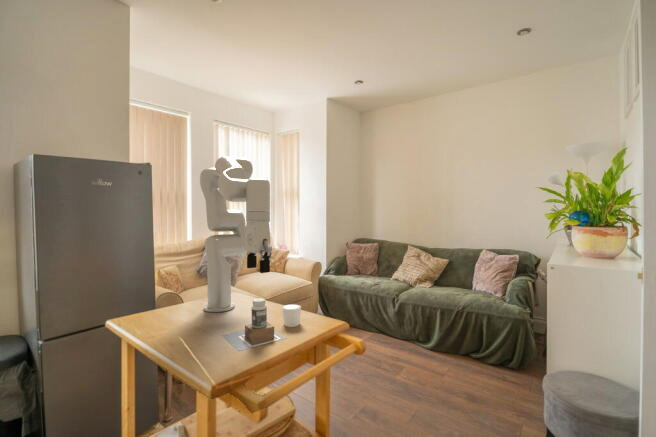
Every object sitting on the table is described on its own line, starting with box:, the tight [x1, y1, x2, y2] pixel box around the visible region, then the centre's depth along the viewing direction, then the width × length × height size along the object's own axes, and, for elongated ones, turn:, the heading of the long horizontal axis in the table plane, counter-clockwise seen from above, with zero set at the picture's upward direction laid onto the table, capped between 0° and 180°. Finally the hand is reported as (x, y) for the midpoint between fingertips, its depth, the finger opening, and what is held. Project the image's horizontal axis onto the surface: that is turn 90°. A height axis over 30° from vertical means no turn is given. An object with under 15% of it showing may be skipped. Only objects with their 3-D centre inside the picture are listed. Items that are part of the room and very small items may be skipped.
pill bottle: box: [251, 297, 268, 328], centre depth 103 cm, size 5×5×8 cm
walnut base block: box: [244, 322, 275, 344], centre depth 103 cm, size 7×7×4 cm
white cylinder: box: [281, 303, 302, 328], centre depth 116 cm, size 7×7×7 cm
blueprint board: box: [221, 329, 287, 352], centre depth 104 cm, size 15×16×1 cm
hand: (258, 270), depth 103 cm, fingers open, 9 cm apart
